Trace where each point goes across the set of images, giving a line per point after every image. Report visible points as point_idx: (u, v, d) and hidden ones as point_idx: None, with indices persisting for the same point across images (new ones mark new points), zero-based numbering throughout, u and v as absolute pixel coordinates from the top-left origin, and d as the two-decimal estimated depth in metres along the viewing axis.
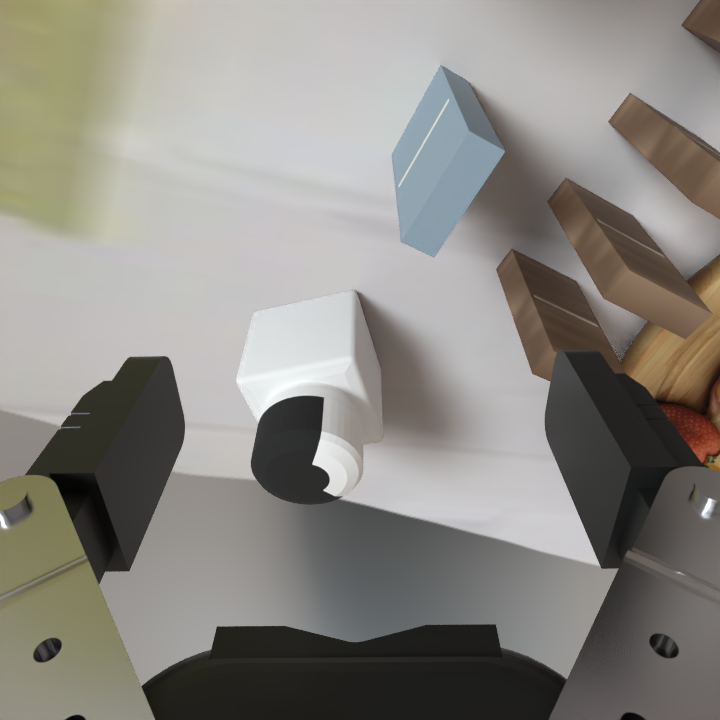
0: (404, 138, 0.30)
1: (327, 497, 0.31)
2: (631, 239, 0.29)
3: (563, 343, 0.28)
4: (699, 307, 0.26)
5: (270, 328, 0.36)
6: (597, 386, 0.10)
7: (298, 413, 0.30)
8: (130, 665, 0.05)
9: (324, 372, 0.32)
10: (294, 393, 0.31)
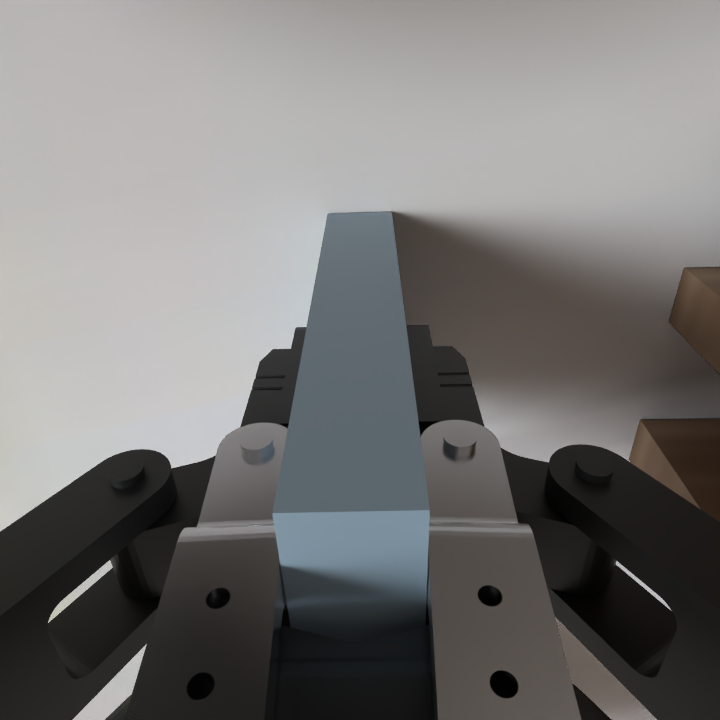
0: None
1: None
2: None
3: None
4: None
5: None
6: (410, 355, 0.11)
7: None
8: (268, 654, 0.05)
9: None
10: None
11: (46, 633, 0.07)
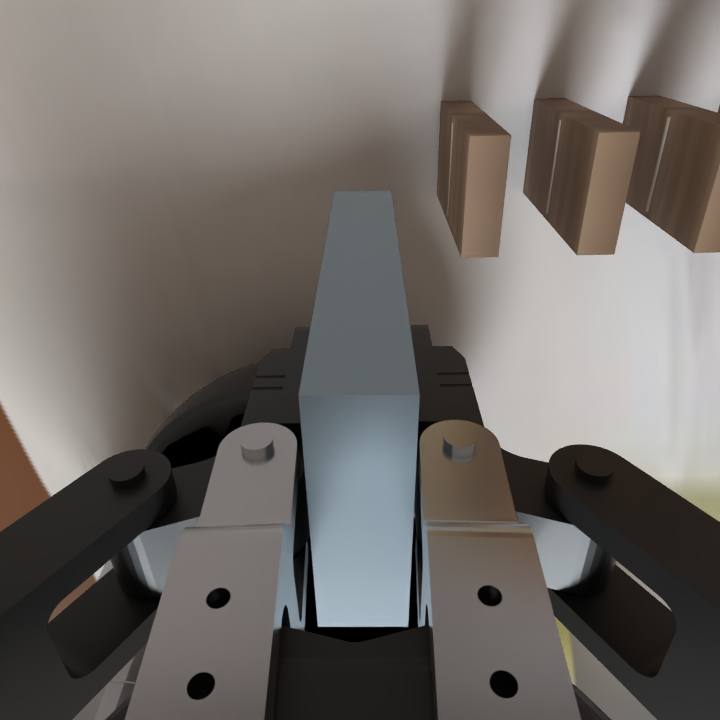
0: None
1: None
2: (658, 168, 0.28)
3: None
4: None
5: None
6: None
7: None
8: (268, 655, 0.05)
9: None
10: None
11: (46, 633, 0.07)
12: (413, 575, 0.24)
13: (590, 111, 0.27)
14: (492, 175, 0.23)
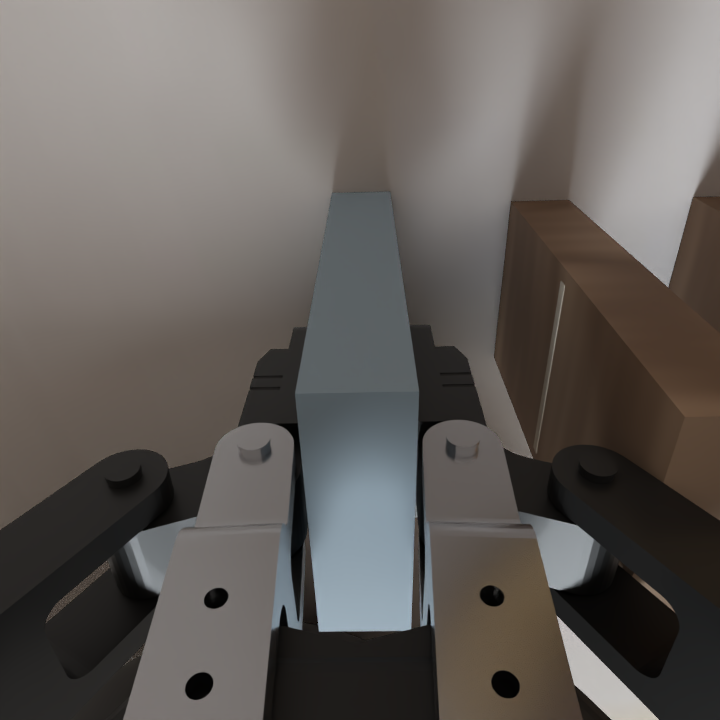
0: None
1: None
2: None
3: None
4: None
5: None
6: None
7: None
8: (266, 655, 0.05)
9: None
10: None
11: (43, 634, 0.07)
12: None
13: None
14: None
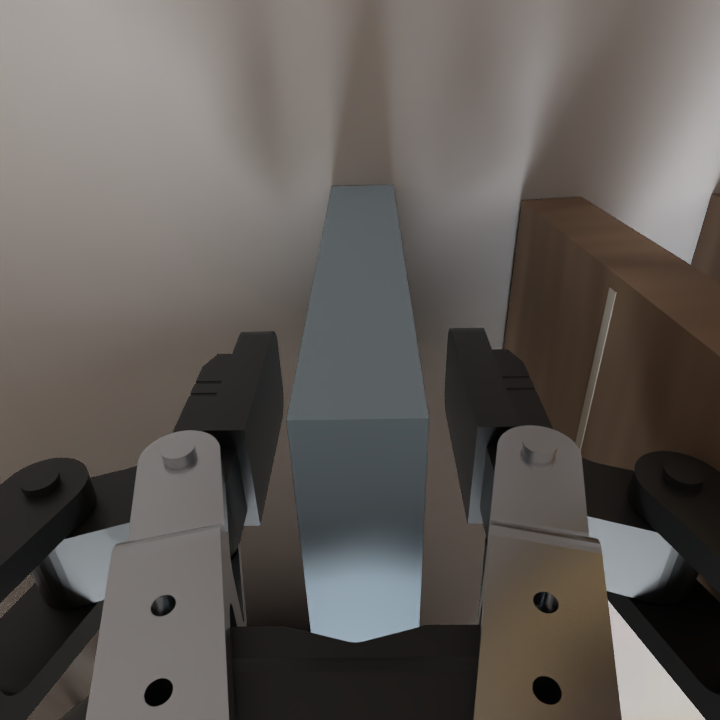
0: None
1: None
2: None
3: None
4: None
5: None
6: (471, 359, 0.11)
7: None
8: (223, 649, 0.05)
9: None
10: None
11: None
12: None
13: None
14: None
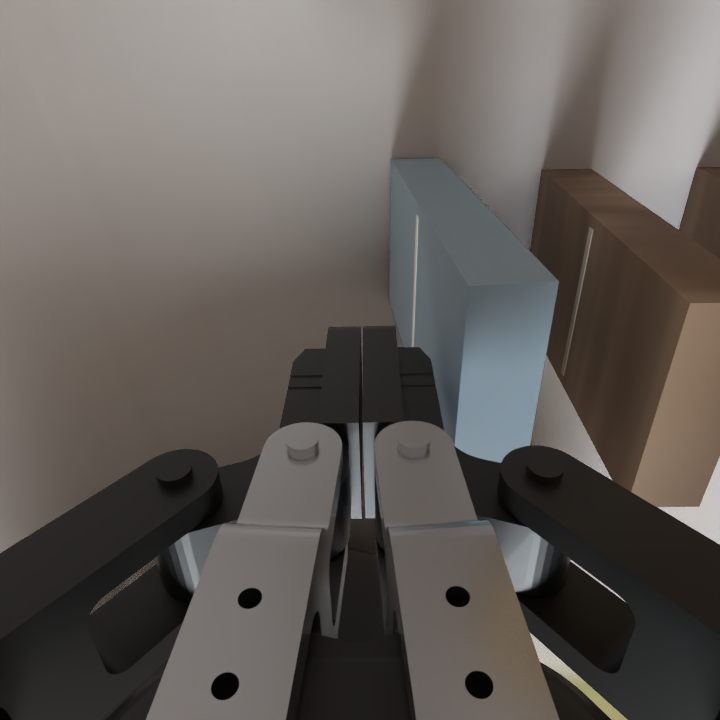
0: (392, 277, 0.20)
1: None
2: None
3: None
4: None
5: None
6: (375, 356, 0.11)
7: None
8: (294, 662, 0.05)
9: None
10: None
11: (86, 628, 0.07)
12: None
13: None
14: None
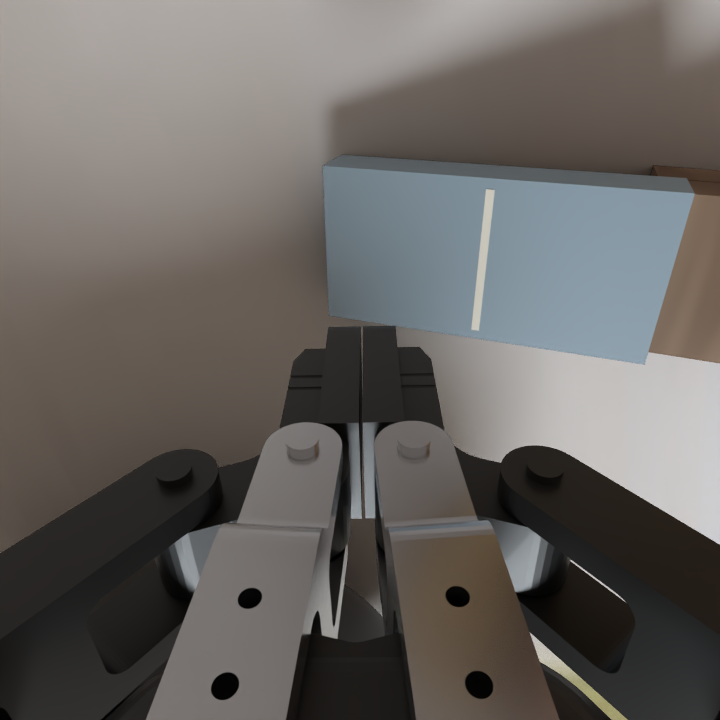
0: (352, 284, 0.19)
1: None
2: None
3: None
4: None
5: None
6: (375, 356, 0.11)
7: None
8: (294, 662, 0.05)
9: None
10: None
11: (86, 628, 0.07)
12: None
13: None
14: None
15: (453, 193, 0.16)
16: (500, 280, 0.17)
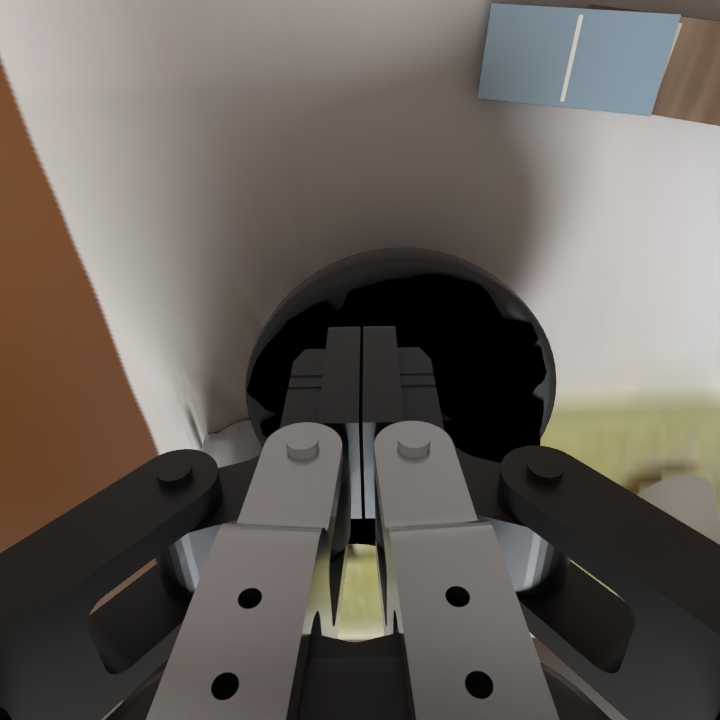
0: (495, 76, 0.34)
1: None
2: None
3: None
4: None
5: None
6: (375, 356, 0.11)
7: None
8: (294, 662, 0.05)
9: None
10: None
11: (86, 628, 0.07)
12: (529, 407, 0.28)
13: None
14: None
15: (561, 17, 0.32)
16: (579, 69, 0.33)
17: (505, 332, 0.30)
